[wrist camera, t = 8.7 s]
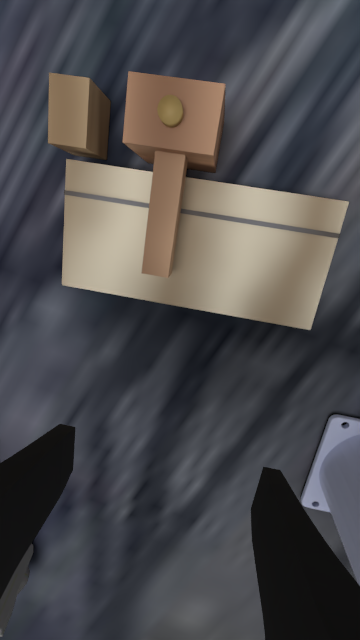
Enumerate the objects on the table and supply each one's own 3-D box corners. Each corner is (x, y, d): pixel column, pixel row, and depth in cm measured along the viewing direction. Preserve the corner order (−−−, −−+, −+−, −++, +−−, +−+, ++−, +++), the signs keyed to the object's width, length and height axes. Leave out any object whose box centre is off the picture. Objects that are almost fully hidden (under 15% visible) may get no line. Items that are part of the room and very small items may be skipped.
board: (335, 204, 18) (349, 201, 16) (301, 320, 20) (310, 330, 18) (81, 165, 19) (65, 158, 17) (76, 279, 21) (61, 285, 19)
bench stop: (110, 101, 18) (89, 77, 15) (106, 159, 19) (85, 148, 16) (76, 97, 18) (49, 72, 15) (74, 155, 19) (48, 142, 16)
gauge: (224, 121, 17) (225, 77, 12) (198, 270, 20) (190, 287, 15) (153, 112, 18) (124, 64, 12) (137, 259, 20) (107, 273, 15)
